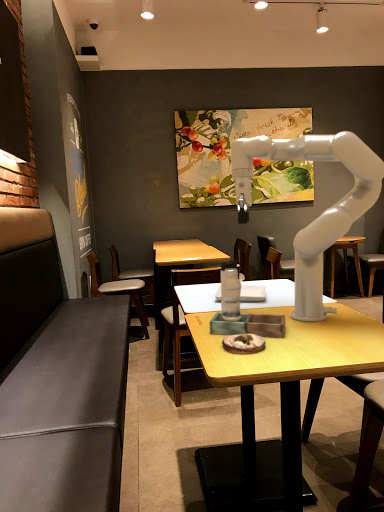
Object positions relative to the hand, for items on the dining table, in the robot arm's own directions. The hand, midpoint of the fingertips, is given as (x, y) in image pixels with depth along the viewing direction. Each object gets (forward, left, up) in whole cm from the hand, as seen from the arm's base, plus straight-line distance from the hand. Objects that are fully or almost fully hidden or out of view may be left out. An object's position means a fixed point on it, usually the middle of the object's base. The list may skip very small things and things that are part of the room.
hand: (243, 222), depth 144 cm
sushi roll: (-4, +34, -35) cm, 49 cm away
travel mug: (+6, +1, -34) cm, 34 cm away
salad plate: (+6, -26, -34) cm, 44 cm away
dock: (-3, +19, -34) cm, 39 cm away
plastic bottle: (+2, +19, -34) cm, 39 cm away
